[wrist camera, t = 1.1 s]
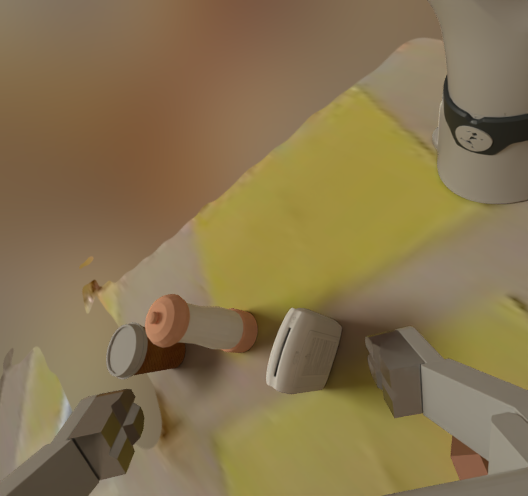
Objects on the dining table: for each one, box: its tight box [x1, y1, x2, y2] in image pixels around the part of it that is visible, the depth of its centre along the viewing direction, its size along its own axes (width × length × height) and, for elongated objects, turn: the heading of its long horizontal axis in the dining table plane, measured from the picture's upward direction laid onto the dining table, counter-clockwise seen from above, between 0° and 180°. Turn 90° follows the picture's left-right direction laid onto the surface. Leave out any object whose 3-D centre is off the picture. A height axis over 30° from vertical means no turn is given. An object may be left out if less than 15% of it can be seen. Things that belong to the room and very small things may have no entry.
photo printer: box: [266, 308, 342, 394], centre depth 36 cm, size 10×4×12 cm, turn 155°
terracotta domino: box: [451, 436, 489, 480], centre depth 25 cm, size 2×5×11 cm, turn 11°
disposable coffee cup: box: [106, 322, 185, 379], centre depth 53 cm, size 10×10×12 cm
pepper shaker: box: [145, 294, 258, 353], centre depth 43 cm, size 7×7×19 cm
